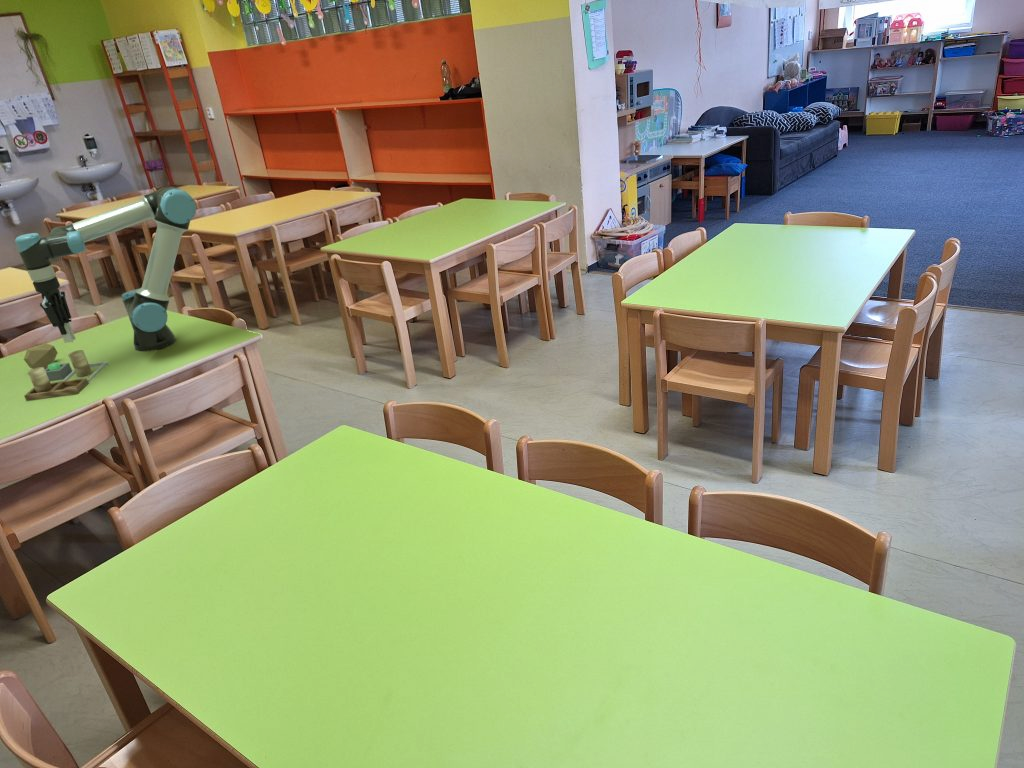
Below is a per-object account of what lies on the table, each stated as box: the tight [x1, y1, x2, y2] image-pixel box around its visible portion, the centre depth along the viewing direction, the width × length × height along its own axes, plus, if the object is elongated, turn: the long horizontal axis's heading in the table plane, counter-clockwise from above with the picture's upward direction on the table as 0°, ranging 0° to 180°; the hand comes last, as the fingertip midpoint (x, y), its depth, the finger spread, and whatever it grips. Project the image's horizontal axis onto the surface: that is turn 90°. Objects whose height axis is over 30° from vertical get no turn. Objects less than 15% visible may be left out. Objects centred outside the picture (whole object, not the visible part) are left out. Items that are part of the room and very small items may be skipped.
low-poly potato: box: [23, 342, 59, 370], centre depth 276 cm, size 15×11×12 cm
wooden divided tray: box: [23, 377, 90, 402], centre depth 252 cm, size 18×9×3 cm, turn 95°
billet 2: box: [68, 349, 93, 378], centre depth 263 cm, size 5×5×9 cm
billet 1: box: [27, 367, 52, 393], centre depth 250 cm, size 5×5×9 cm
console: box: [45, 362, 73, 382], centre depth 265 cm, size 7×7×4 cm
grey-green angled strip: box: [62, 361, 109, 383], centre depth 265 cm, size 10×16×2 cm, turn 5°
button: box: [48, 361, 61, 371], centre depth 265 cm, size 4×4×6 cm
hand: (70, 340), depth 259 cm, fingers closed
